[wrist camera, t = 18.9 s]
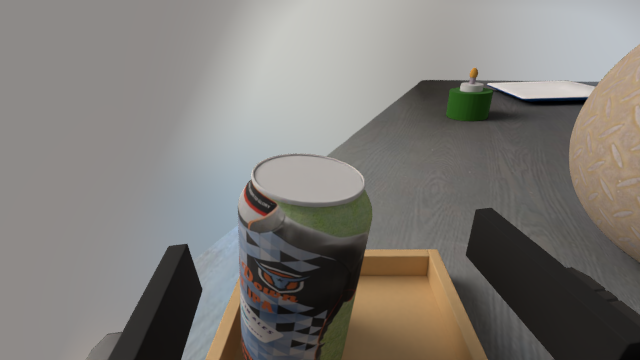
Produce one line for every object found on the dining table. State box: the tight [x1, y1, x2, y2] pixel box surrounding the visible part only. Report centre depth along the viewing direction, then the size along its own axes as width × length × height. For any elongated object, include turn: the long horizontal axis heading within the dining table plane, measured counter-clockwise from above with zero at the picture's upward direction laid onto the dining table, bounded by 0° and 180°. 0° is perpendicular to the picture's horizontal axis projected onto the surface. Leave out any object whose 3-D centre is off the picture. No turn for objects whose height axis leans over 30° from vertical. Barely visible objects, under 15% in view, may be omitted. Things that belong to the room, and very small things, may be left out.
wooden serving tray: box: [205, 249, 488, 360], centre depth 17 cm, size 15×14×3 cm
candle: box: [446, 68, 493, 121], centre depth 61 cm, size 8×8×10 cm
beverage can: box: [238, 154, 372, 360], centre depth 15 cm, size 6×7×12 cm
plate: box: [487, 81, 595, 102], centre depth 76 cm, size 22×22×2 cm
